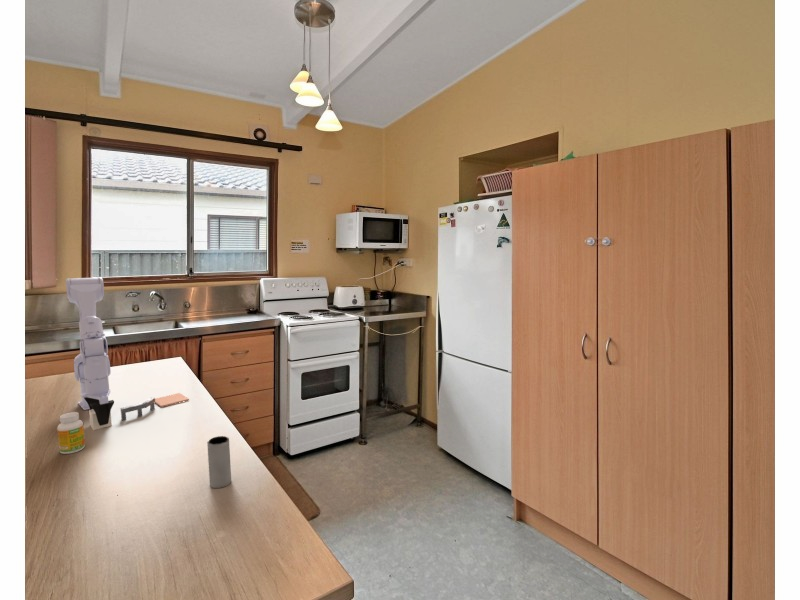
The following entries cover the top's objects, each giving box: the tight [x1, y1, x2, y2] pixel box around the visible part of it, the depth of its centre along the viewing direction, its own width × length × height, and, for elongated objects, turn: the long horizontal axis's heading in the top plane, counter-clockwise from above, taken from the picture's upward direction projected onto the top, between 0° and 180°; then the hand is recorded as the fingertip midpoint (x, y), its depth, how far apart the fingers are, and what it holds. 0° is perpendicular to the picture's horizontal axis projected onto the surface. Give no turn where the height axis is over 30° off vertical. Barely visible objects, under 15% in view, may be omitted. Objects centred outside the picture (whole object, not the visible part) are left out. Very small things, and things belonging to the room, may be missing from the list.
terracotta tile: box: [154, 392, 190, 408], centre depth 149 cm, size 9×9×1 cm
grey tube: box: [206, 435, 232, 489], centre depth 96 cm, size 4×4×10 cm
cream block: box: [88, 409, 112, 431], centre depth 128 cm, size 4×4×5 cm
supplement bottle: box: [56, 411, 86, 455], centre depth 112 cm, size 5×5×10 cm
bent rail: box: [119, 397, 156, 421], centre depth 137 cm, size 5×10×4 cm, turn 137°
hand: (100, 420), depth 128 cm, fingers open, 7 cm apart
